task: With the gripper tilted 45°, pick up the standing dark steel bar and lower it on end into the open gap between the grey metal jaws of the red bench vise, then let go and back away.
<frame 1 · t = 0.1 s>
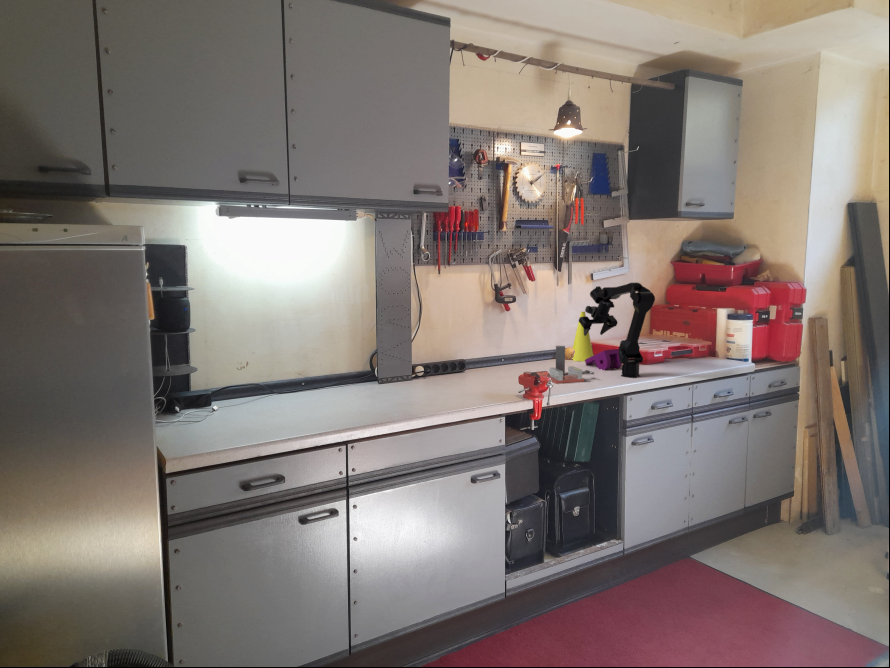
hand: (592, 334, 289), 15 cm above the worktop, tool tilted 35°, fingers open, 9 cm apart
mounting bracket: (601, 367, 285), on the worktop
cone: (581, 359, 306), on the worktop
bench vise: (565, 380, 254), on the worktop
steel bar: (560, 374, 267), on the worktop
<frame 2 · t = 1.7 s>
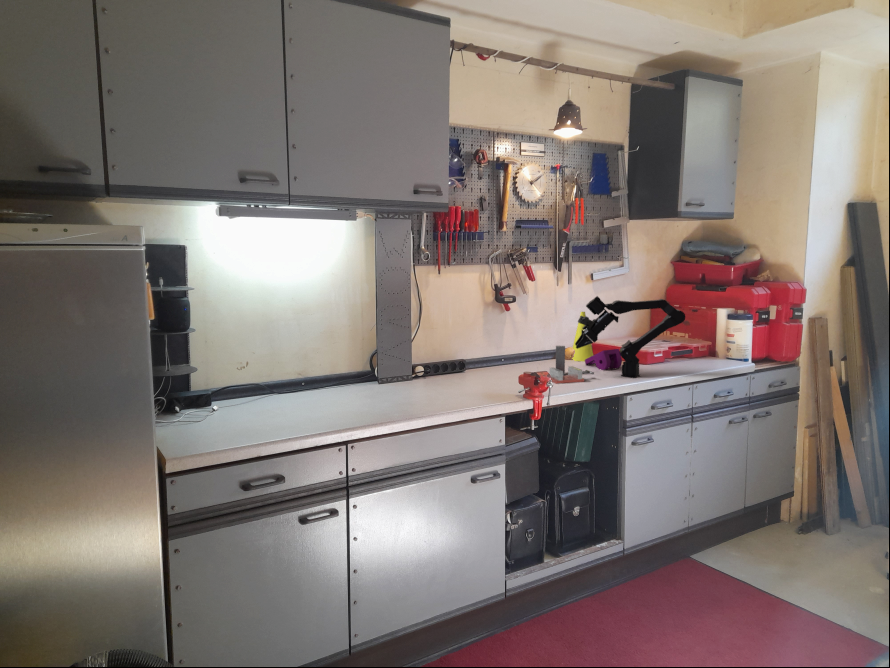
hand: (575, 346, 264), 13 cm above the worktop, tool tilted 45°, fingers open, 9 cm apart
nothing on the worktop moved.
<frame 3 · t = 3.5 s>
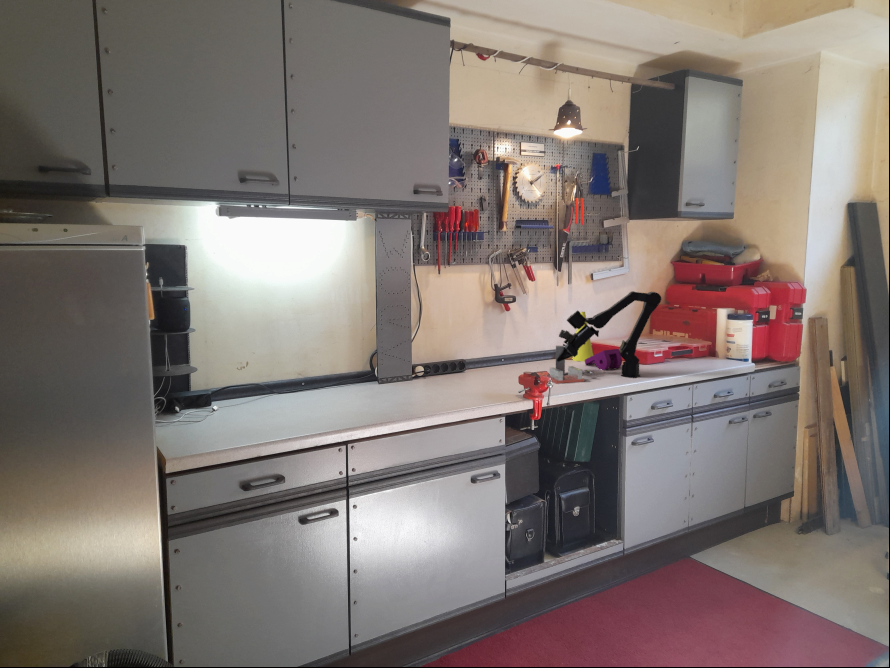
hand: (557, 360, 267), 7 cm above the worktop, tool tilted 45°, fingers closed on steel bar, 4 cm apart
steel bar: (560, 374, 267), on the worktop, touching gripper
everything else where it was.
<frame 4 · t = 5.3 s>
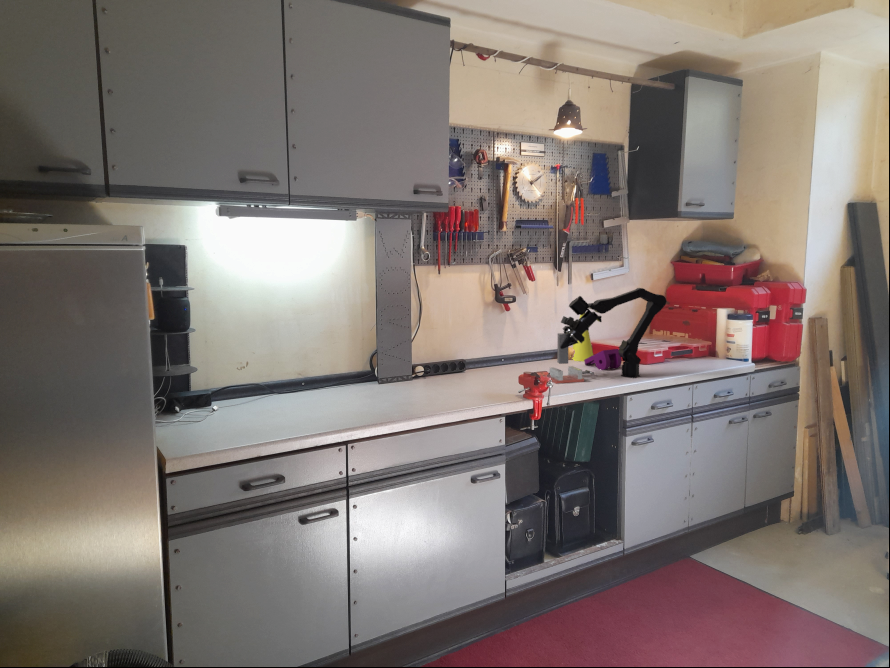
hand: (559, 347, 260), 13 cm above the worktop, tool tilted 45°, fingers closed on steel bar, 4 cm apart
steel bar: (562, 362, 261), point 6 cm above the worktop, touching gripper
everything else where it was.
when the fingers open (9 cm above the worktop, at t = 7.2 s): steel bar stays where it is, resting on bench vise.
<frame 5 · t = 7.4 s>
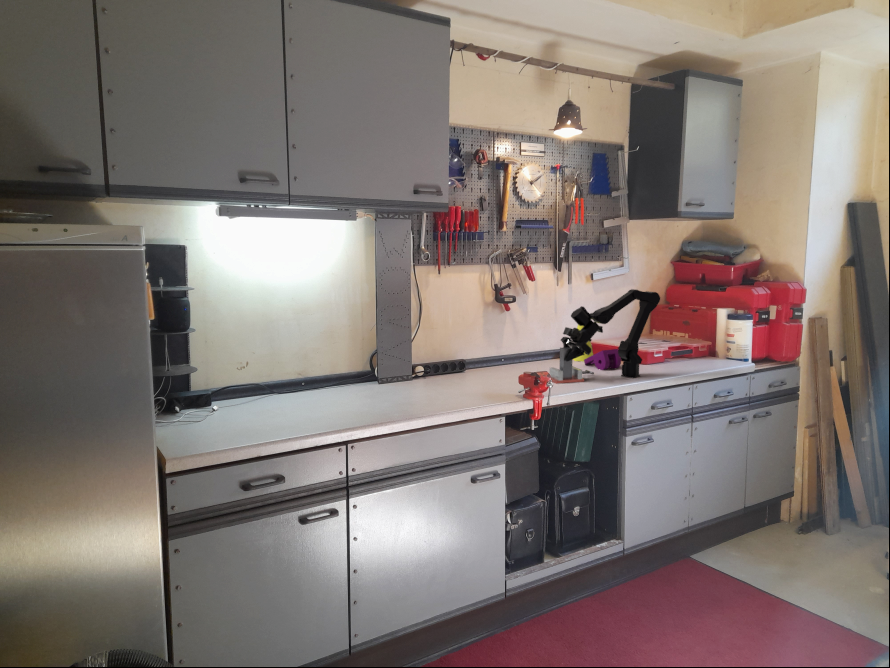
hand: (562, 359, 252), 9 cm above the worktop, tool tilted 45°, fingers open, 6 cm apart
steel bar: (565, 377, 254), point 1 cm above the worktop, touching bench vise
everything else where it was.
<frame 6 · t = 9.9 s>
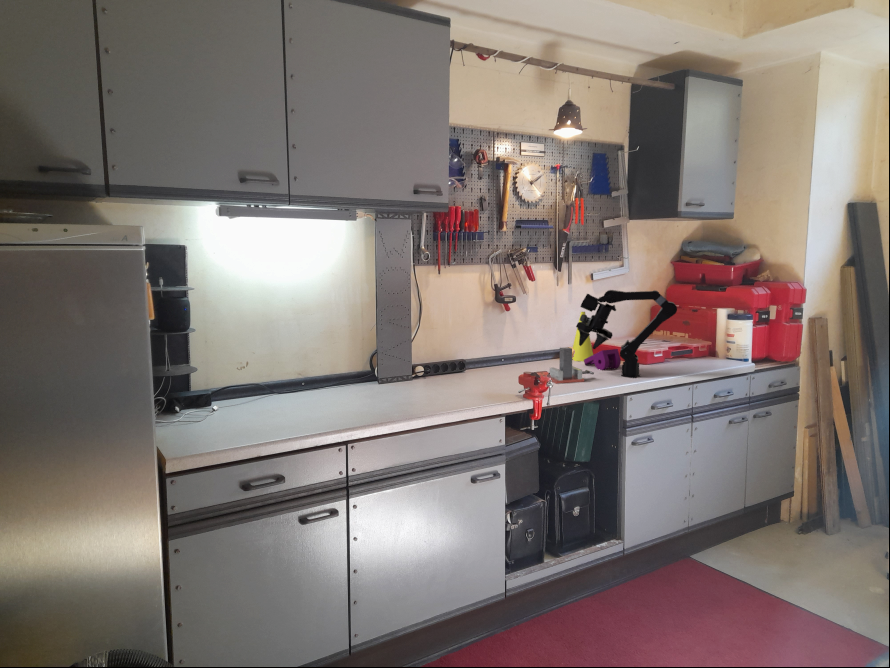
hand: (586, 347, 267), 12 cm above the worktop, tool tilted 25°, fingers open, 9 cm apart
nothing on the worktop moved.
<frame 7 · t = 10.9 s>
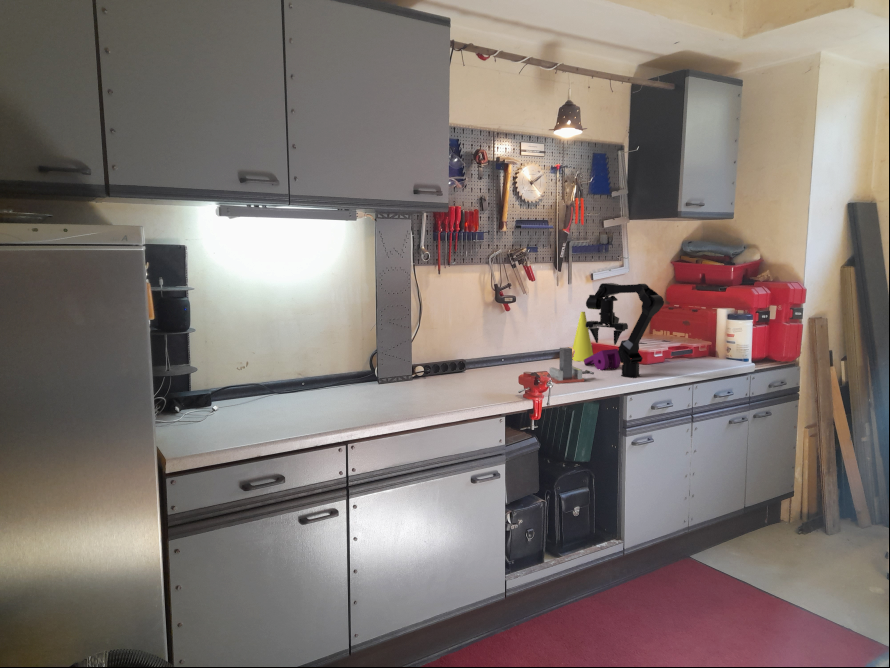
hand: (605, 343, 272), 13 cm above the worktop, tool pointing down, fingers open, 9 cm apart
nothing on the worktop moved.
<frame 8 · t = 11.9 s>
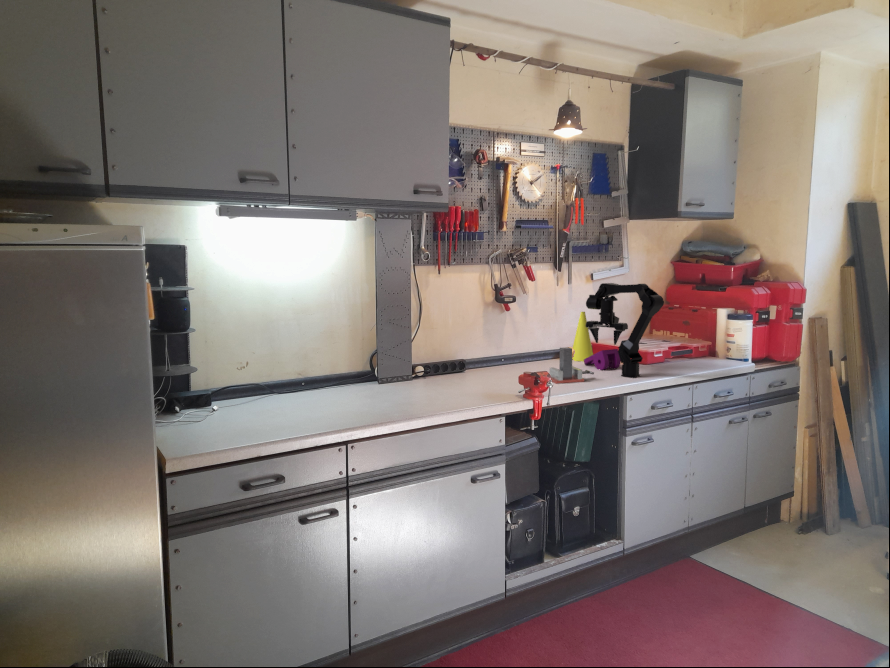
hand: (606, 343, 272), 13 cm above the worktop, tool pointing down, fingers open, 9 cm apart
nothing on the worktop moved.
at the end: steel bar 0.0 cm off-centre on the bench vise, point 1.2 cm above the bench vise's base; steel bar tilted 0°; the gripper is holding nothing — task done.
